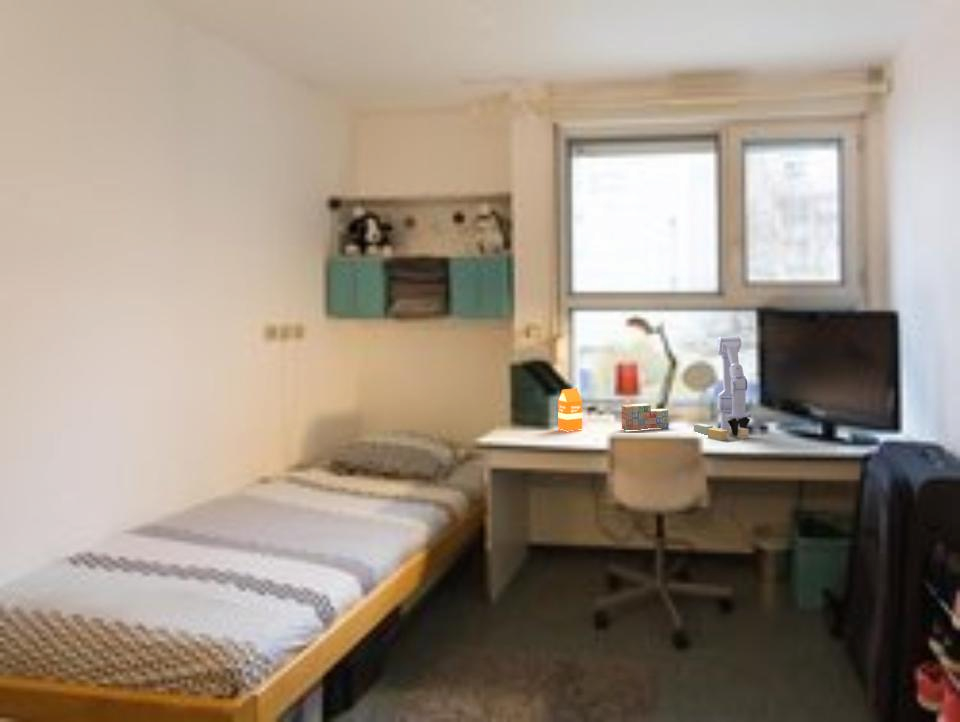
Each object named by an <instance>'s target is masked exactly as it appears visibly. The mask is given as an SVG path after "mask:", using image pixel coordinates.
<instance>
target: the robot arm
mask: <svg viewBox="0 0 960 722" xmlns="http://www.w3.org/2000/svg"><path fill="white" fill-rule="evenodd" d="M741 339H742V338H741V337H740V336H719V337H718V338H717V345H716V346H717V355H719V356H721V359H722V361H721V362H722V385H723V387H722V388H723V390H722V391H720V392H719V393H718V395H717V401H716V406H717V410H718V411H719V412H720V427H719V428H717V427H716V428H717V429H723V430H727V433H729V427H731V430H732V434H733V435H735V436H737V434H738V427H741V428H746V429H747V427H748V425H749V423H750V421H751V418H752V417H753V413H752V412H746V396H747V395H746V394H747V393H746V391H747V390H748V379H747V378H746V376H745V374H744V371H743V366H742V364H739V363H740V361H739V352H740V350H741V349H742V348H741V347H742V340H741Z"/></svg>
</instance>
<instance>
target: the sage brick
mask: <svg viewBox="0 0 960 722" xmlns="http://www.w3.org/2000/svg"><path fill="white" fill-rule="evenodd" d="M710 428H714V426H713V425H710V424H706V423H695V424H693V432H694V431H695V432H698V433H701V434H704V435H708V429H710Z"/></svg>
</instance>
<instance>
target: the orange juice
mask: <svg viewBox="0 0 960 722" xmlns="http://www.w3.org/2000/svg"><path fill="white" fill-rule="evenodd" d="M557 406H558V407H557V411H558V412H557V415H558V416H557V418H558V424H557V425H558V427H557V428H558V429H559V428H560V429H563V430H566V431H569V430H578V429H582V430H583V400H582V397H581V395H580V393H579V390H578V388H577V387H576V388H575V387H574V388H566V389H562V390H561V393H560V394H559V397H558V399H557Z"/></svg>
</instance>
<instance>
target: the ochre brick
mask: <svg viewBox="0 0 960 722" xmlns="http://www.w3.org/2000/svg"><path fill="white" fill-rule="evenodd" d="M727 433H728V431H727V430H723V429H717V427H713V428H710V429H708V438H707V439H709V438H712V439H711V440H713V439H717V440H716V441H718V440H726V439H727Z"/></svg>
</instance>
